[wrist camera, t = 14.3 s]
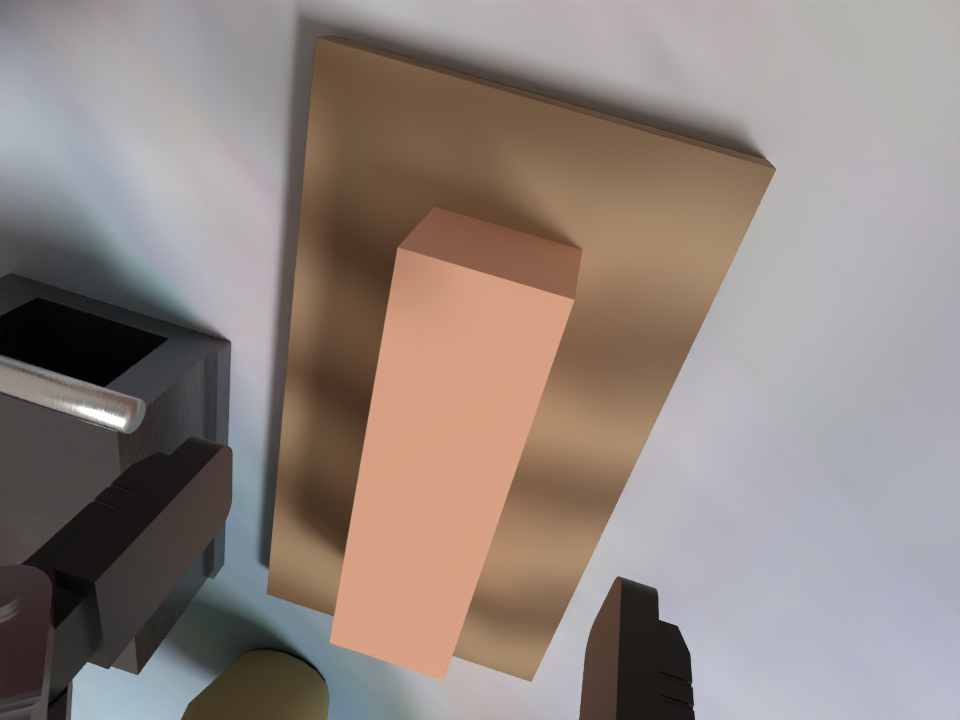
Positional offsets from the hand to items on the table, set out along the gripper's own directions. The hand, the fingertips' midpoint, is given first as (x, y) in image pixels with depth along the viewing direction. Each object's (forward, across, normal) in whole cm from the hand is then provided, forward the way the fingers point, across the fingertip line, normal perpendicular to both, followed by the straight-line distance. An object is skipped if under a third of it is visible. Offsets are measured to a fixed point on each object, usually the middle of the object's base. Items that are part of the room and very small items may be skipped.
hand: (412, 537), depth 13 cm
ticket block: (+11, +1, +6) cm, 13 cm away
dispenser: (+12, +16, +12) cm, 24 cm away
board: (+12, +1, +6) cm, 14 cm away
